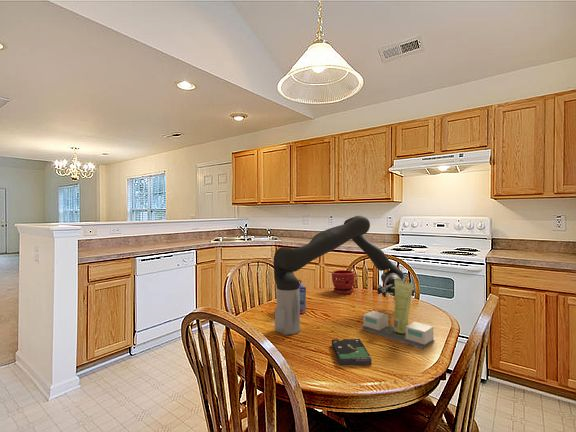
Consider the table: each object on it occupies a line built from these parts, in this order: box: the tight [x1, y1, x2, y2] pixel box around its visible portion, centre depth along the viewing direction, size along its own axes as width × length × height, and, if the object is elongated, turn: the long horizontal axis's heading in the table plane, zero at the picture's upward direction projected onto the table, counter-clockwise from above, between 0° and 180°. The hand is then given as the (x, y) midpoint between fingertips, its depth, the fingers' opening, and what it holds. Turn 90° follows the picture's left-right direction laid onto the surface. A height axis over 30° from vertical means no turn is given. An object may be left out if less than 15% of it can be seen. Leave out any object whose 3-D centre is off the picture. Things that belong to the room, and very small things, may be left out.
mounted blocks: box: [362, 310, 434, 345], centre depth 121 cm, size 7×25×4 cm, turn 43°
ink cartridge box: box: [298, 278, 307, 314], centre depth 151 cm, size 10×6×14 cm, turn 15°
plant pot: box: [331, 269, 356, 295], centre depth 183 cm, size 13×13×12 cm
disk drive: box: [331, 338, 372, 367], centre depth 106 cm, size 10×3×15 cm
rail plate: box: [360, 324, 436, 350], centre depth 121 cm, size 10×25×1 cm, turn 43°
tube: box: [393, 280, 414, 334], centre depth 121 cm, size 6×5×20 cm
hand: (396, 295), depth 123 cm, fingers open, 8 cm apart
